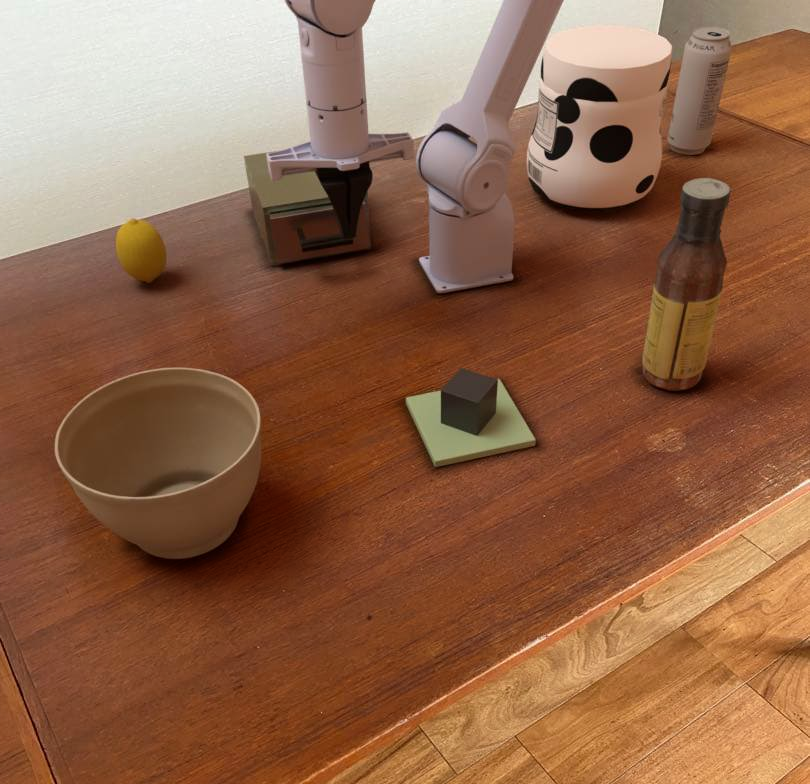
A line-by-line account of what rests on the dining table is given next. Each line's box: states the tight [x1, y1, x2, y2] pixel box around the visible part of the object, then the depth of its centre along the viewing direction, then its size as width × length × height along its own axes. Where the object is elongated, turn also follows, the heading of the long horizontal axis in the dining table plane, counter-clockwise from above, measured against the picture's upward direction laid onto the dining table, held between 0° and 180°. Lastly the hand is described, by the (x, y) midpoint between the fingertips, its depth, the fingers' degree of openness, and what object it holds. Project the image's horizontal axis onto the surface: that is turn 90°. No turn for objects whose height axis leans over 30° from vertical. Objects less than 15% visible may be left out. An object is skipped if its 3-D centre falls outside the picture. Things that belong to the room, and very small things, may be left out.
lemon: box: [115, 217, 167, 284], centre depth 101 cm, size 6×6×8 cm
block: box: [440, 367, 498, 436], centre depth 83 cm, size 4×4×4 cm
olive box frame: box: [243, 150, 372, 267], centre depth 109 cm, size 15×13×8 cm
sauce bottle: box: [641, 177, 731, 392], centre depth 82 cm, size 6×6×20 cm
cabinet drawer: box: [269, 201, 368, 264], centre depth 106 cm, size 18×11×6 cm, turn 16°
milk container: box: [526, 24, 673, 212], centre depth 110 cm, size 17×17×18 cm
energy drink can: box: [667, 26, 733, 156], centre depth 120 cm, size 6×6×15 cm
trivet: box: [405, 378, 537, 468], centre depth 84 cm, size 10×10×1 cm
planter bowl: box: [54, 367, 262, 560], centre depth 73 cm, size 16×16×11 cm
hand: (347, 234), depth 92 cm, fingers closed
